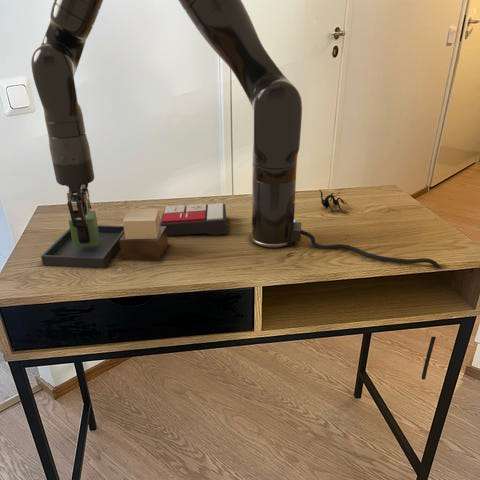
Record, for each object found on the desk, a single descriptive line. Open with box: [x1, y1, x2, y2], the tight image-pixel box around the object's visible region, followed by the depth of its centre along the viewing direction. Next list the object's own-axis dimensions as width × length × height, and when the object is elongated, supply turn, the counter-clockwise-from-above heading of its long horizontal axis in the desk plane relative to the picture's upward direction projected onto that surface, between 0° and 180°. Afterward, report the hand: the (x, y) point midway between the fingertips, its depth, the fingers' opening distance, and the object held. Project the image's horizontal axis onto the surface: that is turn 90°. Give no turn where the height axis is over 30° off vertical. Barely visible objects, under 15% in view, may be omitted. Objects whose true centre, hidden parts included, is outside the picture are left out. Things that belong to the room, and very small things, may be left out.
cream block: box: [122, 208, 161, 239], centre depth 105 cm, size 6×6×4 cm
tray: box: [40, 224, 125, 269], centre depth 109 cm, size 13×17×2 cm
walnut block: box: [119, 226, 169, 262], centre depth 107 cm, size 8×8×4 cm
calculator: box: [160, 202, 227, 237], centre depth 119 cm, size 11×4×15 cm
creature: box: [318, 189, 349, 213], centre depth 128 cm, size 8×5×8 cm
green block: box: [68, 210, 100, 247], centre depth 107 cm, size 5×5×6 cm
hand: (86, 236), depth 108 cm, fingers closed on green block, 5 cm apart
